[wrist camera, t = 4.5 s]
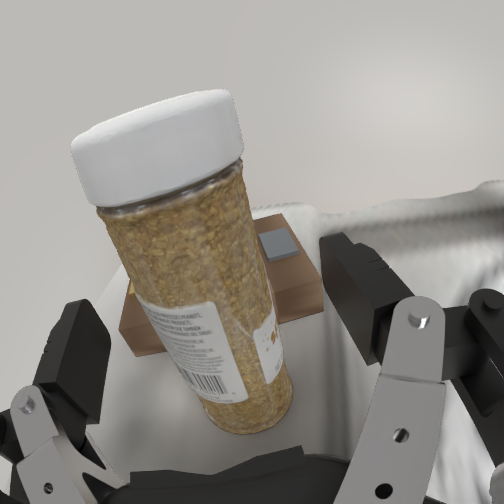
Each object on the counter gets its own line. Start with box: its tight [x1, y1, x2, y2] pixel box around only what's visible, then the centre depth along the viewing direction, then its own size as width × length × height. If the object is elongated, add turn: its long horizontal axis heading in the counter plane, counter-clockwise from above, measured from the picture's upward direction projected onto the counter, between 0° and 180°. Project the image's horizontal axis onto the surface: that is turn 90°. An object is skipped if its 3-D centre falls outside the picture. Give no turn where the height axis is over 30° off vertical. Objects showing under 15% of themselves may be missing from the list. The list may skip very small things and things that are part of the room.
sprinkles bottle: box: [71, 89, 293, 434], centre depth 11 cm, size 5×5×14 cm
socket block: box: [119, 213, 324, 357], centre depth 21 cm, size 12×9×2 cm
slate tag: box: [258, 227, 300, 262], centre depth 21 cm, size 2×3×1 cm, turn 10°
